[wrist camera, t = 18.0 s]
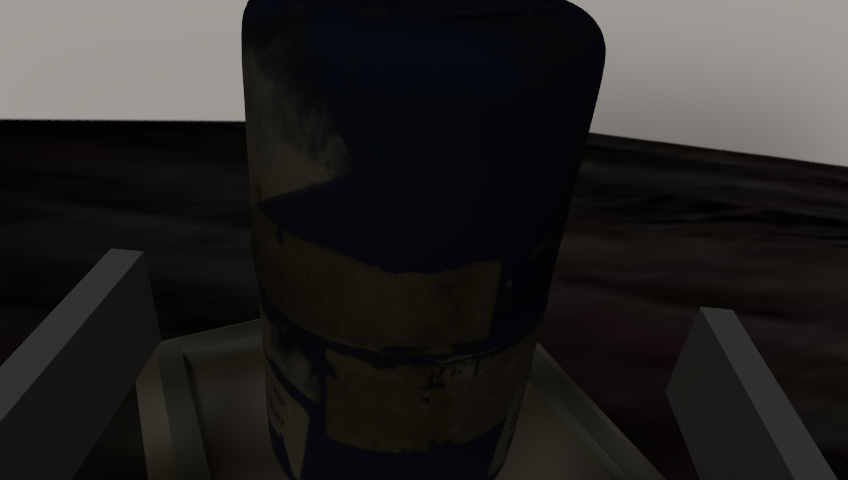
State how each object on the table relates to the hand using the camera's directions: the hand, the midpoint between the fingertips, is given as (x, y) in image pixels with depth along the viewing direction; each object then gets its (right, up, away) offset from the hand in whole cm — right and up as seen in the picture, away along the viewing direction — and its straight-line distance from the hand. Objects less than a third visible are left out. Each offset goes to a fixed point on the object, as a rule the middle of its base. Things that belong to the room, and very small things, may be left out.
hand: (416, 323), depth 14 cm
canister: (-1, -6, +10) cm, 12 cm away
